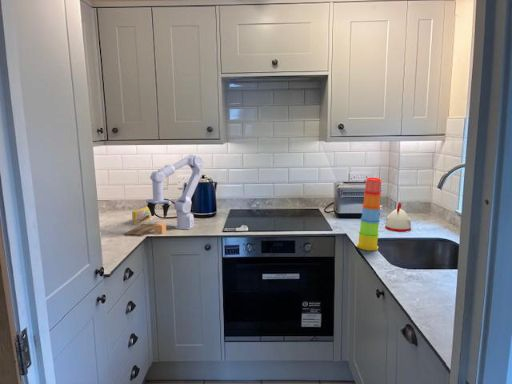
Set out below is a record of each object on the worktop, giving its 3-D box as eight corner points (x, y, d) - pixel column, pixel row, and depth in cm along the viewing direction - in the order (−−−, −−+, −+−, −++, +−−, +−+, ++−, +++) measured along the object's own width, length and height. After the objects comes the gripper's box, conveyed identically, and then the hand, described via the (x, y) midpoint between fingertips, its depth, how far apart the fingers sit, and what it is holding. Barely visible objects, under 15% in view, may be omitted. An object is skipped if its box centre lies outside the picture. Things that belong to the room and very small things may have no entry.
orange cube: (166, 231, 216) (165, 223, 215) (162, 234, 212) (161, 225, 211) (158, 231, 217) (157, 222, 217) (154, 233, 213) (153, 225, 212)
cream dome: (412, 227, 219) (414, 202, 217) (408, 233, 208) (410, 207, 205) (387, 224, 226) (389, 200, 224) (382, 230, 215) (384, 204, 212)
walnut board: (158, 226, 227) (158, 224, 226) (141, 236, 207) (140, 234, 207) (143, 225, 229) (142, 223, 229) (124, 235, 210) (124, 233, 209)
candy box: (135, 225, 231) (134, 212, 229) (132, 224, 232) (131, 211, 230) (150, 218, 246) (149, 206, 244) (147, 218, 247) (147, 206, 245)
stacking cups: (372, 243, 191) (375, 176, 185) (382, 250, 181) (386, 179, 175) (353, 244, 189) (356, 176, 183) (362, 251, 179) (365, 180, 173)
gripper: (142, 193, 208) (143, 217, 211) (166, 194, 205) (167, 218, 207) (149, 191, 215) (150, 214, 217) (172, 192, 212) (173, 215, 214)
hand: (159, 216), depth 213 cm, fingers open, 7 cm apart
